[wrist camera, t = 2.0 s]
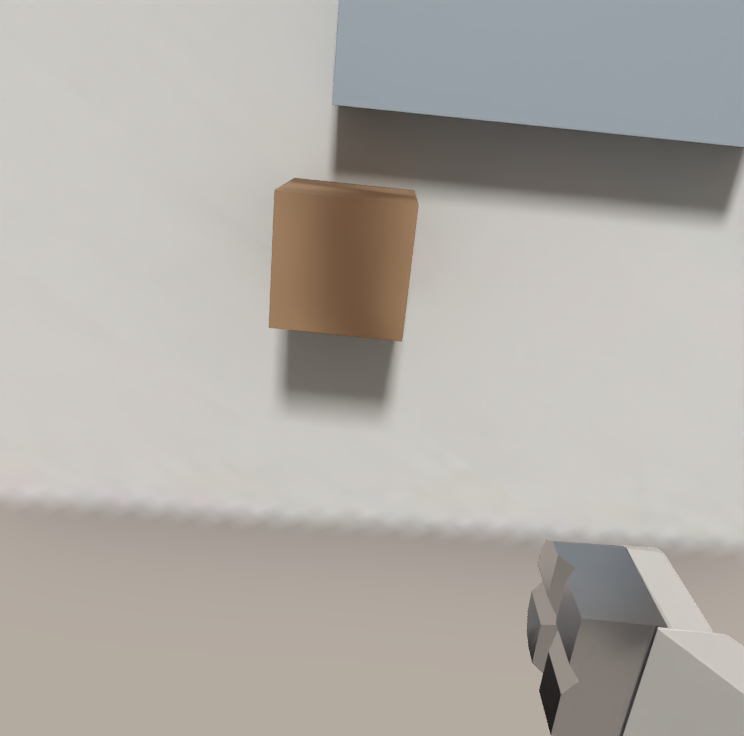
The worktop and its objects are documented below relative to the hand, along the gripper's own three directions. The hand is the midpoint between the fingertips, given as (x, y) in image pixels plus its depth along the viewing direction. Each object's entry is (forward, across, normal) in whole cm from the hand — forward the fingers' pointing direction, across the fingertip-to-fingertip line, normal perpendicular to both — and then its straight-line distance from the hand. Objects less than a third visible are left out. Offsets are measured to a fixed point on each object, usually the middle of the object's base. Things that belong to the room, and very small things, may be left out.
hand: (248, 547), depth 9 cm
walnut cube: (+23, 0, 0) cm, 23 cm away
